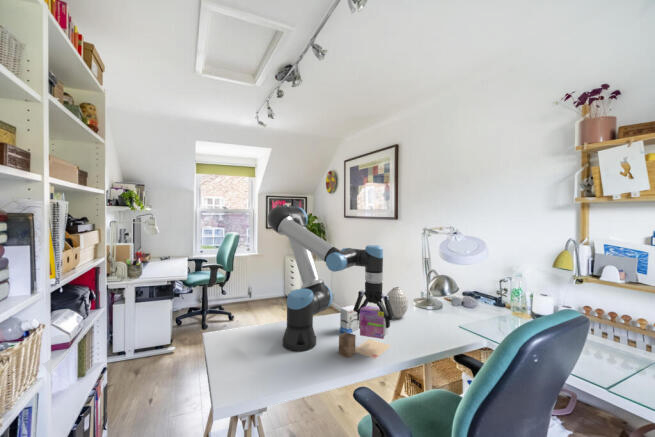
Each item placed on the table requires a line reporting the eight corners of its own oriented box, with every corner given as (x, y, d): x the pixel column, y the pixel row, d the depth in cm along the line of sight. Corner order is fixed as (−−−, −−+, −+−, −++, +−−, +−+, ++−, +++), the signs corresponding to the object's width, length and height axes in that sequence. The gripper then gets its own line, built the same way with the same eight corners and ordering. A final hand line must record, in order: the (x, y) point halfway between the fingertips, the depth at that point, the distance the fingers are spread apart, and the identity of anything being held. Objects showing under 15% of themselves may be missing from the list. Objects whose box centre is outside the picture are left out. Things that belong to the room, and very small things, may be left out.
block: (338, 354, 125) (339, 335, 125) (345, 350, 129) (345, 331, 129) (348, 358, 122) (349, 339, 122) (355, 353, 126) (355, 335, 126)
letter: (352, 351, 128) (352, 350, 128) (369, 339, 140) (369, 338, 140) (375, 359, 122) (375, 358, 122) (391, 346, 134) (391, 345, 134)
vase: (383, 311, 178) (384, 284, 178) (406, 313, 177) (406, 285, 176) (385, 319, 166) (385, 289, 165) (408, 321, 164) (409, 291, 163)
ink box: (346, 334, 145) (347, 310, 145) (339, 331, 149) (340, 308, 148) (358, 330, 151) (359, 307, 150) (351, 327, 154) (352, 304, 154)
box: (359, 335, 130) (360, 308, 129) (362, 330, 135) (363, 304, 135) (383, 339, 126) (384, 311, 126) (385, 334, 132) (386, 307, 131)
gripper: (346, 278, 134) (345, 327, 135) (395, 287, 120) (394, 341, 121) (354, 276, 140) (354, 322, 141) (403, 284, 126) (402, 335, 127)
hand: (372, 331), depth 131 cm, fingers closed on box, 11 cm apart
